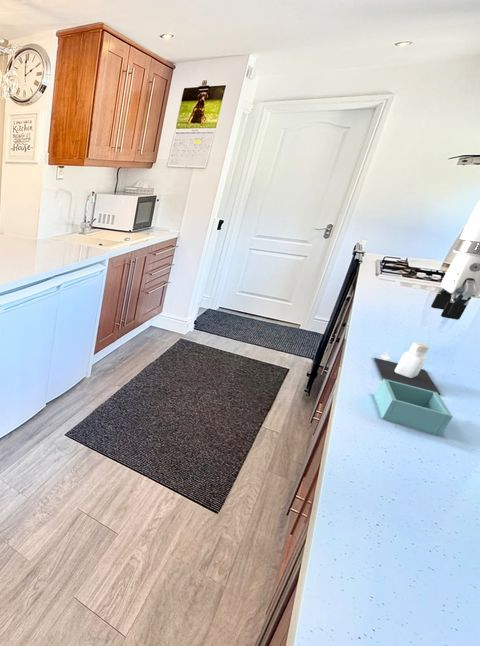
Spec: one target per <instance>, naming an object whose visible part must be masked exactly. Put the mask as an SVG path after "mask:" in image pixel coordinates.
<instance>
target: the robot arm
mask: <svg viewBox="0 0 480 646" xmlns="http://www.w3.org/2000/svg"><path fill="white" fill-rule="evenodd" d="M452 252H453V253H455V256H454V258H453V260H452V261H451V263H450V265H449V266H448V268H447V270H446V272H445V274H444V275H443V278H442V280H441V283H440V288H439V289H438V292H437V293H436V295H435V297H434V299H433V301H432V303H431V305H430V308H432V309H436V310H437V309H438V310H442V312H441V314H440V317H441V318H444V319H445V318H446V319H451V320H457V321H458V320H460V319H461V317H462V315H463V313H464V312H465V310H466V308H467V307H468V305H469V303H470V300H471V299H472V298H476V297H478V296H479V295H480V199H479V200H478V201H477V203H476V205H475V207H474V208H473V211H472V213H471V214H470V216H469V218H468V221H467V223H466V225H465V226H464V229H463V231H462V232H461V234H460V237H459V239H458V240H457V242H456V243H455V246H454V248H453V250H452Z"/></svg>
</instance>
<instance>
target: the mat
mask: <svg viewBox="0 0 480 646" xmlns="http://www.w3.org/2000/svg"><path fill="white" fill-rule="evenodd" d="M373 359H374V362H375V364H376V367H377V369H378V371H379V374H380V376H381V379H382V380H383V379H387V380H391V381H395V382H399V383H402V384H406V385H410V386H414V387H418V388H422V389H426V390H429V391H433V392H437V393H438V394H439V396H440V395H441V392H440V391H439V389H438V388H437V386H436V385H435V383H434V382H433V380H432V379H431V377H430V376H429V374H428V372H427V371H426V369H424V368H421V370H420V372H419V374H418V375H417V376H415V377H413V378H409V377H406V376H403V375H400V374H398V373H396V372H395V369H396V367H397V365H398V363H399V362H394V361H390V360H385V359H381V358H378V357H374V358H373Z"/></svg>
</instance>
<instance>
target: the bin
mask: <svg viewBox="0 0 480 646" xmlns="http://www.w3.org/2000/svg"><path fill="white" fill-rule="evenodd" d="M373 397H374V400H375V404H376V405H377V408H378V412H379V414H380V418H381V419H382V420H385V421H389V422H391V423H395V424H399V425H402V426H405V427H409V428H412V429H415V430H418V431H422V432H424V433H429V434H431V435H435V436H438V437H441V436H442V435H443V433H444V431H445V430H446V428H447V427H448V425H449V423H450V422H451V420H452V419H453V414H452V413H451V411H450V410H449V408H448V407H447V405H446V403H445V402H444V400H443V399H442V398H441V396H440V395H439V394H438V393H437V392H433V391H429V390H426V389H422V388H418V387H414V386H410V385H406V384H402V383H399V382H395V381H391V380H387V379H382V380H381V382H380V384H379V386H378V388H377V390H376V392H375V393H374V396H373Z"/></svg>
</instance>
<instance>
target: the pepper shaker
mask: <svg viewBox="0 0 480 646" xmlns="http://www.w3.org/2000/svg"><path fill="white" fill-rule="evenodd" d="M429 349H430V345H427V344H425V343H422V342H417V341H415V342H412V344H411V346H410V348H409V350H408V351H405V352H404V353H403V354H402V356H401V358H400V359H399V361H398V362H397V363H398V365H397V367H396V369H395V372H396V373H398V374H400V375H403V376H406V377H409V378H413V377H415V376H417V375H418V374H419V372H420V370H421V369H423V367H424V364H425V363H426V361H427V359H428V358H427V357H426V354H427V353H428V350H429Z"/></svg>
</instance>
